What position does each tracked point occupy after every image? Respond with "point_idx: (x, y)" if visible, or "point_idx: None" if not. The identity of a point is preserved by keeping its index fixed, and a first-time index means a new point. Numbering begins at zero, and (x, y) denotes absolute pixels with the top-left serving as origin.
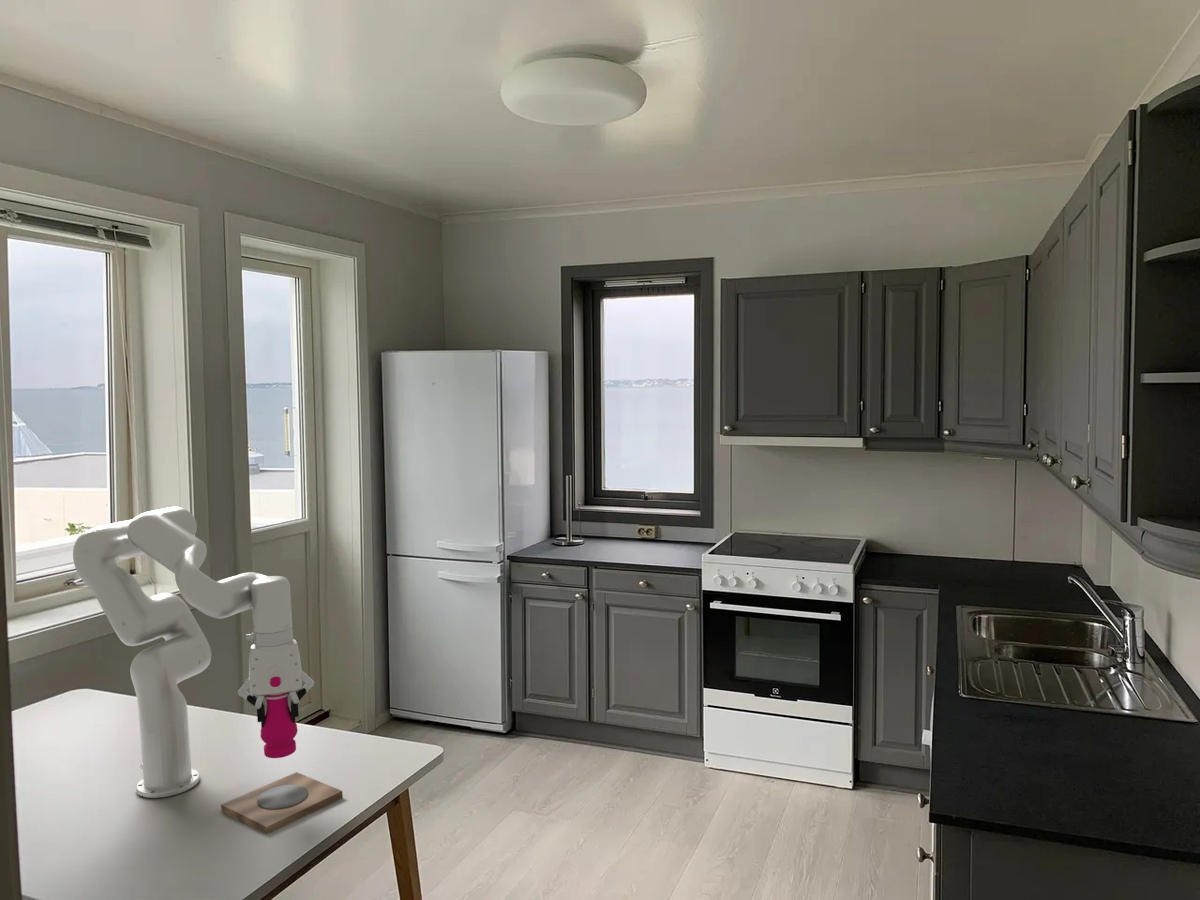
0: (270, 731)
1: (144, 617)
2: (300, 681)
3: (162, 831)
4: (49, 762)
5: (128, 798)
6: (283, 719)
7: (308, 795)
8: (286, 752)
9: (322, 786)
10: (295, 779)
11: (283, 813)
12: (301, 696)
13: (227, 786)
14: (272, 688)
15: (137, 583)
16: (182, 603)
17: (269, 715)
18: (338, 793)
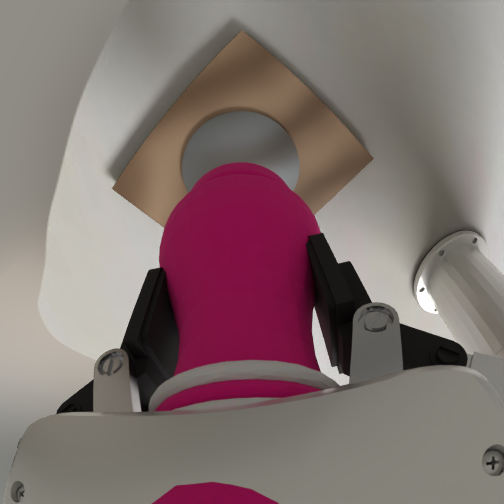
0: (264, 198)
1: None
2: (10, 471)
3: (450, 104)
4: None
5: (493, 238)
6: (193, 256)
7: (180, 172)
8: (203, 178)
9: (161, 213)
10: None
11: (217, 87)
12: (88, 391)
13: (369, 258)
14: (253, 467)
15: None
16: None
17: (283, 276)
18: (117, 180)
